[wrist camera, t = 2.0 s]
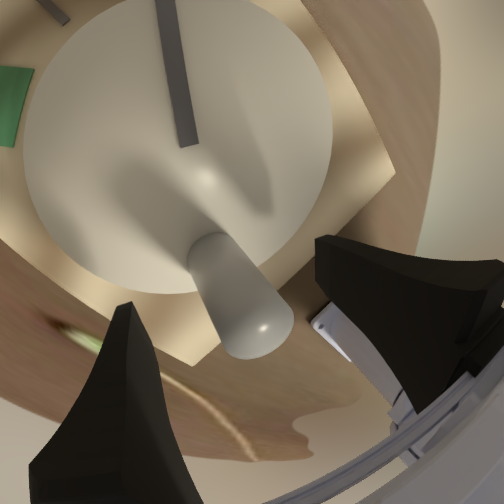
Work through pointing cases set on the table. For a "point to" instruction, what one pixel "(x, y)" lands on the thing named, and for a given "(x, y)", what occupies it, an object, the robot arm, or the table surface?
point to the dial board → (183, 304)
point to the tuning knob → (182, 155)
